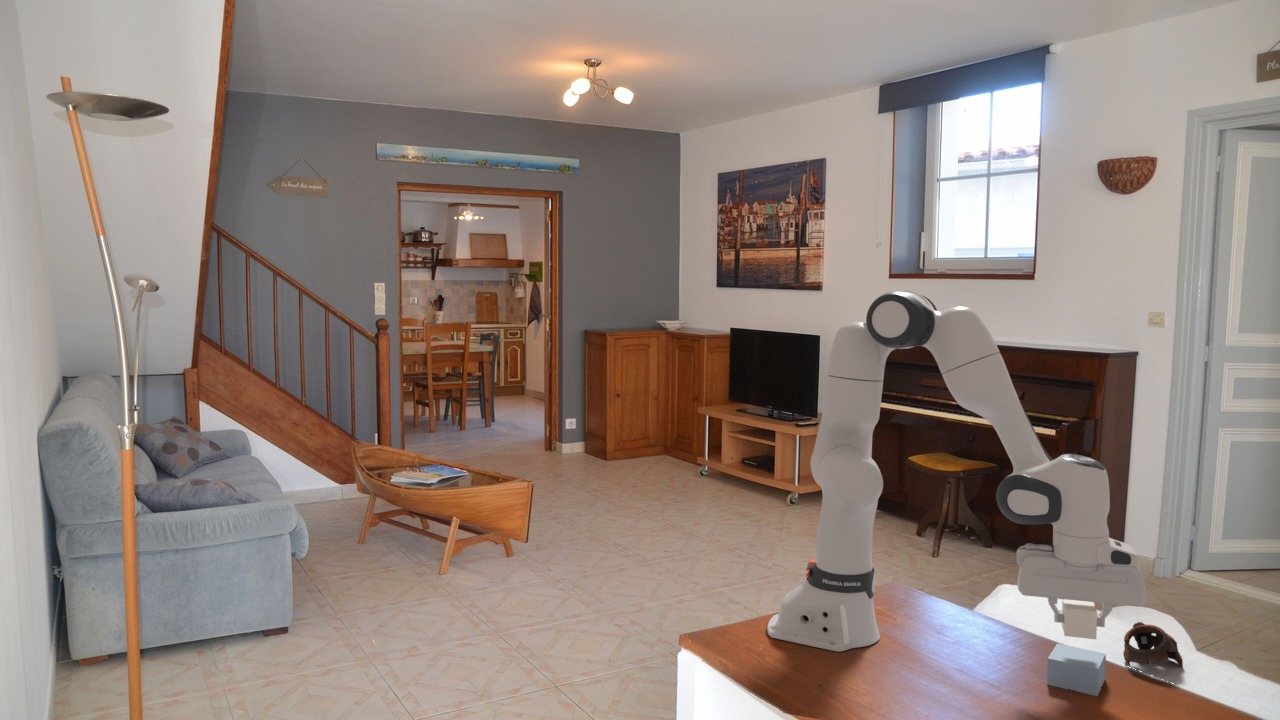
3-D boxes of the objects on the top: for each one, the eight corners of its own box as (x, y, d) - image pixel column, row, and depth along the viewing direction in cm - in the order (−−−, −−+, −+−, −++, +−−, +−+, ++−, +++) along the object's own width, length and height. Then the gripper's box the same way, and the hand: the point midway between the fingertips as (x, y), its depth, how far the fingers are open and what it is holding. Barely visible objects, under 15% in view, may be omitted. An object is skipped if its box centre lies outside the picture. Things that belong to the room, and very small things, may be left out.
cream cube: (1064, 635, 153) (1065, 608, 153) (1062, 625, 158) (1062, 598, 158) (1096, 639, 152) (1097, 611, 151) (1092, 628, 156) (1093, 601, 156)
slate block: (1047, 685, 155) (1047, 658, 154) (1056, 669, 161) (1057, 643, 161) (1097, 697, 150) (1098, 669, 150) (1105, 680, 156) (1105, 653, 156)
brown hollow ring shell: (1197, 677, 158) (1183, 643, 156) (1146, 696, 160) (1131, 663, 157) (1162, 635, 169) (1149, 603, 167) (1115, 653, 171) (1101, 622, 169)
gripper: (1017, 547, 154) (1016, 623, 155) (1148, 557, 147) (1147, 637, 148) (1015, 537, 160) (1014, 611, 161) (1142, 547, 153) (1140, 623, 154)
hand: (1079, 623), depth 155 cm, fingers closed on cream cube, 5 cm apart
